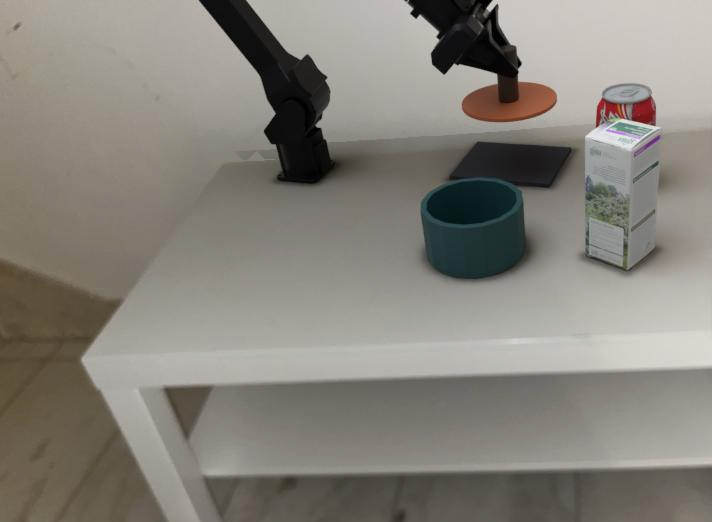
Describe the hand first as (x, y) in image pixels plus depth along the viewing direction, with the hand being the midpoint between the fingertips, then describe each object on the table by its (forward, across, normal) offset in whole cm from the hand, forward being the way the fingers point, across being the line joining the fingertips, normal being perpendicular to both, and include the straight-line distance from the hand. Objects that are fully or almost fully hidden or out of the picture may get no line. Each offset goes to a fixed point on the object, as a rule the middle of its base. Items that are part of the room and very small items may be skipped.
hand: (518, 71), depth 96 cm
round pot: (+8, -20, +12) cm, 25 cm away
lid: (+2, 0, +4) cm, 4 cm away
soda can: (+19, -4, 0) cm, 20 cm away
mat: (+8, +2, +11) cm, 14 cm away
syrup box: (+19, -20, 0) cm, 28 cm away
